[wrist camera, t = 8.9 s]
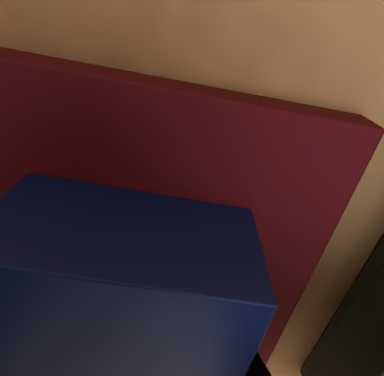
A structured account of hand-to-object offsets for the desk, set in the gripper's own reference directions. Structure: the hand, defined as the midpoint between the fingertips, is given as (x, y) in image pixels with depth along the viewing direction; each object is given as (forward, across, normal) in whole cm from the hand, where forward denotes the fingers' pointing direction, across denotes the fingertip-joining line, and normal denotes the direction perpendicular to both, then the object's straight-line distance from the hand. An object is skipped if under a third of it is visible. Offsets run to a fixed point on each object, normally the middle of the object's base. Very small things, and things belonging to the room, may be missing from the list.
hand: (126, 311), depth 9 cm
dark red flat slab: (+2, 0, 0) cm, 2 cm away
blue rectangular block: (+1, 0, 0) cm, 1 cm away
